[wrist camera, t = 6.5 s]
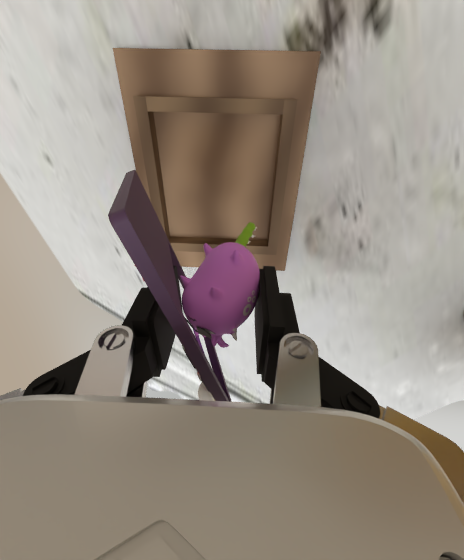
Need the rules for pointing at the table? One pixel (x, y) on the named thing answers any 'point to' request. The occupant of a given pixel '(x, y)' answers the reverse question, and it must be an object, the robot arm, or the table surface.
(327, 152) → the table surface
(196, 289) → the purple figure with panel
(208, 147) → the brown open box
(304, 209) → the table surface
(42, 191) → the table surface
